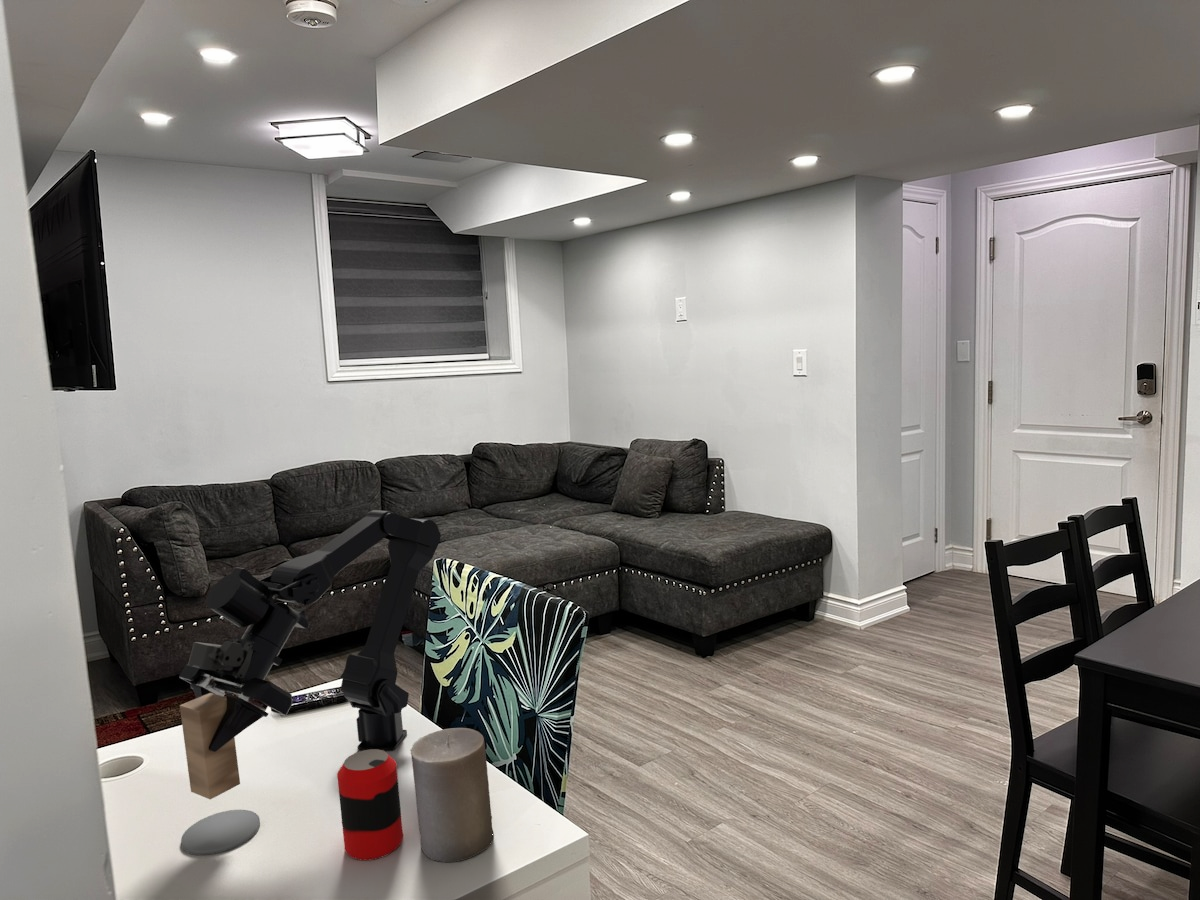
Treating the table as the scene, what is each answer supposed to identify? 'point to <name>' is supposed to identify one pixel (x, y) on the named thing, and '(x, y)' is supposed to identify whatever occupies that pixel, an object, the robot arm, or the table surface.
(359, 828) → the soda can
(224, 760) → the walnut block
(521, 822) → the table surface
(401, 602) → the robot arm
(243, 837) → the charcoal coaster
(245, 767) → the table surface
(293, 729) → the table surface
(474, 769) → the pillar candle
